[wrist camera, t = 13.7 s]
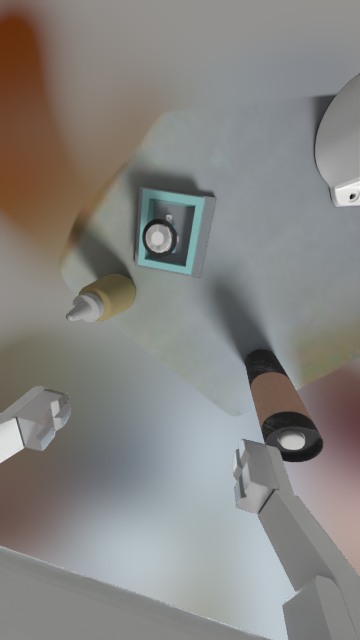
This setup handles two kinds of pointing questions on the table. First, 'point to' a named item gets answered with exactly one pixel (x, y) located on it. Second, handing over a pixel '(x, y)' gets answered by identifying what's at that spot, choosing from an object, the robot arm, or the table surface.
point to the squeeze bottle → (103, 299)
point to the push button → (160, 237)
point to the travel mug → (281, 409)
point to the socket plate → (176, 229)
